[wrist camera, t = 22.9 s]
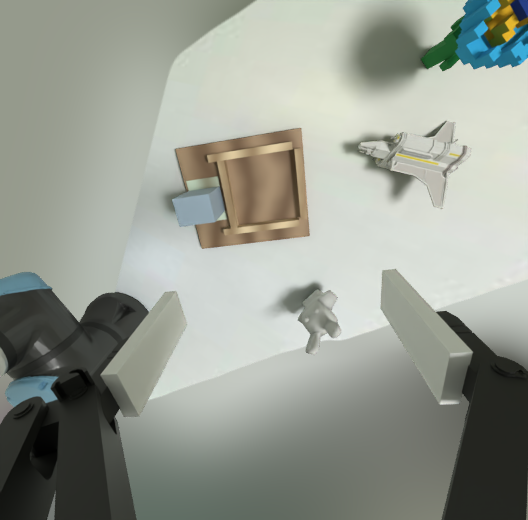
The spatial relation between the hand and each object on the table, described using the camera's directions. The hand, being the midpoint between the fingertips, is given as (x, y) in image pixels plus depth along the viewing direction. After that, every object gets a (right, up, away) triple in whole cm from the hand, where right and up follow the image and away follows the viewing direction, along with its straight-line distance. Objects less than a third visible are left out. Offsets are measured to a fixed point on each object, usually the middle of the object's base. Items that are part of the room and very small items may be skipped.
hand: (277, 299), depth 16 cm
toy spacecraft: (+20, +12, +23) cm, 32 cm away
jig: (-4, +15, +32) cm, 35 cm away
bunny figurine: (+10, -5, +40) cm, 42 cm away
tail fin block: (-12, +14, +31) cm, 36 cm away
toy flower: (+24, +33, +22) cm, 46 cm away
